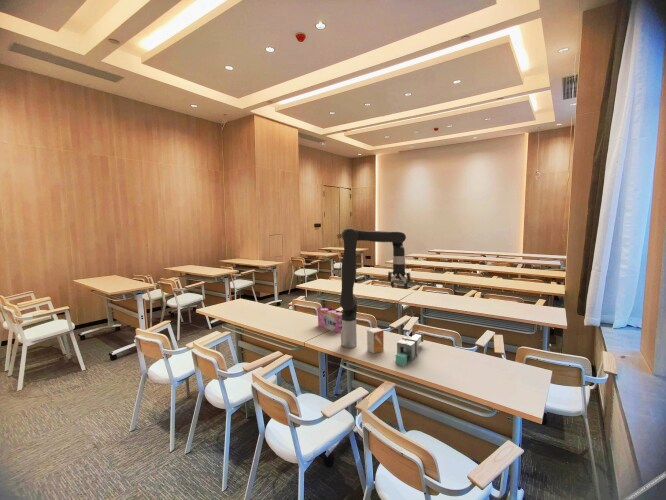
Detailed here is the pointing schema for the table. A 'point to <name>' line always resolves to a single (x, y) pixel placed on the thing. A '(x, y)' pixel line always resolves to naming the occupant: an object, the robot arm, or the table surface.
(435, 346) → the table surface
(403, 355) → the block
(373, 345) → the small box
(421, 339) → the shaft
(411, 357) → the bearing blocks
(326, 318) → the gum box
